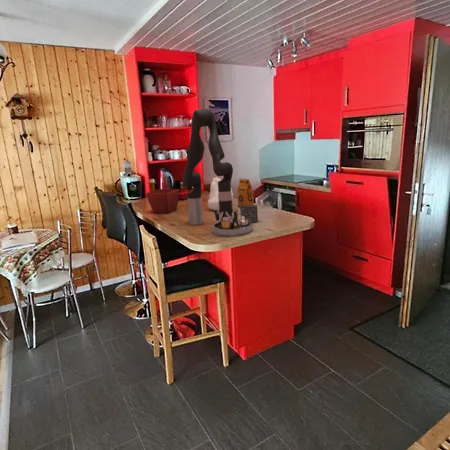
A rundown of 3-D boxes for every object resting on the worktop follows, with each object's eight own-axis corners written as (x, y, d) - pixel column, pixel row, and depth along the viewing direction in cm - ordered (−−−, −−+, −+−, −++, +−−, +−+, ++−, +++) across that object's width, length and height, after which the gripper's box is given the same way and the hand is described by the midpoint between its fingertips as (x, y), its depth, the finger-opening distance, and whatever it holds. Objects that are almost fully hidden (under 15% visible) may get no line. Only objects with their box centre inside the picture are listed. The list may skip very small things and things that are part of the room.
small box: (258, 220, 221) (257, 204, 218) (257, 222, 215) (256, 206, 212) (241, 220, 223) (241, 205, 220) (240, 223, 216) (239, 207, 214)
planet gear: (219, 229, 194) (219, 220, 192) (228, 227, 197) (228, 219, 196) (225, 231, 189) (224, 222, 187) (234, 229, 192) (234, 220, 191)
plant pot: (147, 214, 262) (145, 192, 258) (162, 209, 279) (159, 188, 275) (168, 215, 255) (166, 192, 250) (181, 209, 271) (179, 188, 267)
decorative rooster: (205, 209, 266) (203, 177, 260) (223, 206, 272) (221, 175, 266) (219, 215, 244) (216, 180, 238) (238, 211, 250) (236, 178, 244)
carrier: (205, 231, 203) (204, 217, 201) (237, 224, 214) (236, 211, 212) (226, 239, 184) (225, 224, 182) (260, 231, 195) (259, 217, 193)
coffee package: (245, 209, 258) (244, 180, 253) (236, 206, 269) (234, 179, 263) (256, 207, 263) (254, 178, 258) (246, 205, 274) (245, 177, 268)
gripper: (239, 198, 188) (241, 227, 192) (217, 197, 195) (219, 225, 199) (233, 200, 182) (235, 230, 186) (210, 200, 189) (212, 229, 193)
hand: (227, 228), depth 193 cm, fingers closed on planet gear, 6 cm apart
